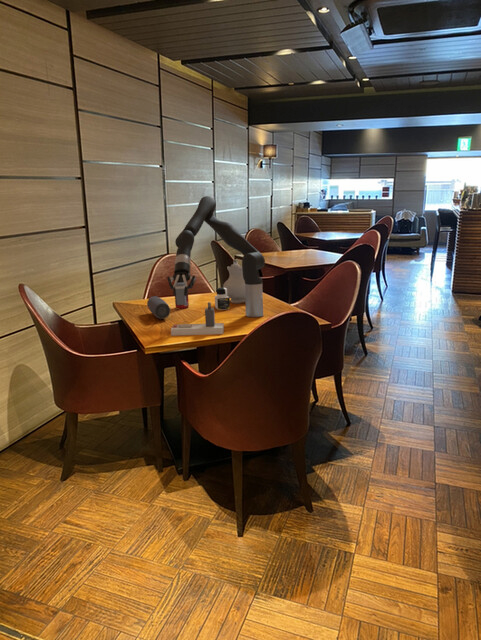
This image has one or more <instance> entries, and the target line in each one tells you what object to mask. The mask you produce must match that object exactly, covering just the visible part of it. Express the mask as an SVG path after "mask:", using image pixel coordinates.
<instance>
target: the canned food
mask: <svg viewBox="0 0 481 640" xmlns="http://www.w3.org/2000/svg"><path fill="white" fill-rule="evenodd" d="M174 301H175V302H174V303H175V308H176V310H185V309H188V308H189V306H190V305H189V303H190V302H189V293H188V294H187V295H186V302H187V303H186V304H185V305H177V302H176V296H175V295H174Z"/></svg>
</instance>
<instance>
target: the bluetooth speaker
mask: <svg viewBox="0 0 481 640" xmlns="http://www.w3.org/2000/svg"><path fill="white" fill-rule="evenodd" d="M146 306H147V309H148V310H149V312H151V313H152V315H154V317H155V318H157V319H159V320H160V319H167V318H168V317H169V316H170V315H171V307H170V305H169V304H168V302H166V301H165V300H164V299H162V298H161V297H159V296H156V295H155V296H151V297H149V298H148V300H147V302H146Z"/></svg>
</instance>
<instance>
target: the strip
mask: <svg viewBox="0 0 481 640" xmlns="http://www.w3.org/2000/svg"><path fill="white" fill-rule="evenodd" d="M215 316H216V315H215V308H214V307H212V302H207V308H206V307H205V309H204V318H205V323H182V324H181V323H180V324H177V323H176V324H173V325H172V326H171V329H170V336H174V337H175V336H199V335H201V336H202V335H203V336H204V335H205V336H206V335H223V334H224V331H225V327H224V326H225V323H224V322H215V321H216V320H215Z"/></svg>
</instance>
